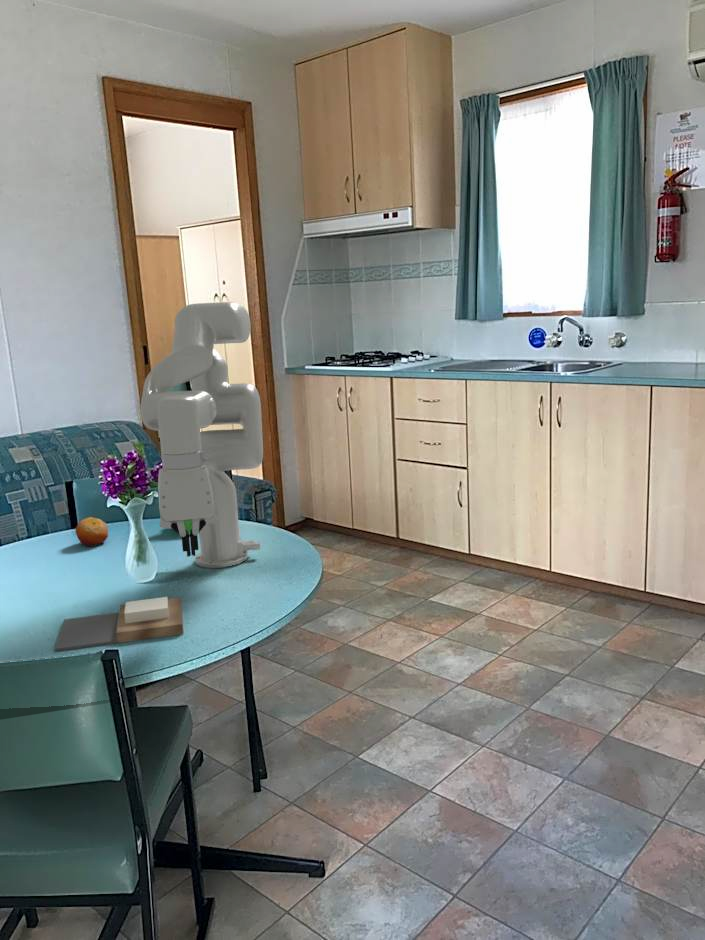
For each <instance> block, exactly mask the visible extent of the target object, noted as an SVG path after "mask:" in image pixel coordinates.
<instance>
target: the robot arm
mask: <svg viewBox="0 0 705 940" xmlns="http://www.w3.org/2000/svg"><path fill="white" fill-rule="evenodd" d="M251 328H252V326H251V318H250V315H249V312H248V311H247V309H246V308H245V306H243V305H241V304H240V303H236V302H230V301H224V302H223V301H222V302H221V301H220V302H204V303H203V302H200V303H191V304H186V305H185V306H183V307H181V309H180V310H179V311H178V313H176V315H175V318H174V332H173V341H172V346H171V347H172V348H171V352H170V353H169V354H168V355H166V357H164V358H163V359H161V361H159V362H158V363H157V364H156V365H155V366H154V367H153V368H152V369H151V370H150V371H149V373H148V374H147V376H146V378H145V380H144V383H143V388H142V395H141V400H140V401H141V402H140V417H141V420H142V423H143V424H144V426H145V427H146V428H147V429H149V430H152V431H157V432H158V433H159V441H160V452H161V454H160V455H161V464H162V468H159V470H158V479H157V481H158V482H157V485H158V486H157V487H158V488H157V489H158V493H157V494H158V509H159V514H160V515H159V516H160V519H159V527H160V528H163V529H171V530H173V531H174V532H176V534H177V533H178V534H180V535H179V536H180V537H181V545H182V546H181V547H182V552H183V553H184V552H186V556H187V558H188V557H190V556H192V557H194V563H195V565H197V566H199V567H202V568H209V569H217V568H218V569H219V568H228V566H229V567H233V566H236V564H237V565H239V564H242V563H243V561H244V562H245V561H247V559H248V558H249V554H248V553H249V552H248V551H258V550H261V545H260V541H254V539H253V540H248V541H244V540H242V537H241V535H240V523H239V512H238V501H237V500H238V499H237V489H236V487H235V483H234V482H233V480H232V478H230V477H229V476H228V475H227V474H226V471H227V472H228V471H236V470H237V471H238V470H239V471H240V470H253V469H257V468H259V467H261V465H262V463H263V459H264V443H263V442H264V441H263V439H264V438H263V436H264V435H263V421H262V419H263V417H262V405H261V397H260V394H259V391H258V389H257V387H256V386H255V385H254V384H250V383H229V376H228V369H229V368H228V364H227V361H226V360H225V359H224V357H222V355H221V354H220V353H219V352H218V351H217V350H216V349H215V348H214V347H215V346H214V345H223V344H241V343H246V342H247V340H248V339H249V337H250V335H251ZM190 381H191V390H173V391H169V390H171V389H173V388H175V387H177V386H180V385H182V384H184V383H187V382H190ZM225 425H240V426H241V427H242V428H235V429H212V430H211V429H210V430H209V429H208V430H202V431H201V429H205V428H208V427H209V426H225ZM188 520H192V529H191V530H190V531H191V533H190V534H189V533H188V531H187V530H186V529H185V525H184V521H188ZM178 534H177V535H178ZM198 535H199V536H198ZM198 537H199V538H198ZM199 546H200V552H199V553H198V554H196V551H199ZM247 557H248V558H247ZM241 562H242V563H241ZM232 565H233V566H232Z"/></svg>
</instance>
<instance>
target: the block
mask: <svg viewBox="0 0 705 940" xmlns="http://www.w3.org/2000/svg"><path fill="white" fill-rule="evenodd" d="M168 599H169V598H168V596H163V597H155V598H147V599H140V600H131V601H125V604H126V606H125V613H124V614H125V622H126V623H132V622H139V621H147V620H154V619H162V618H169V606H168Z"/></svg>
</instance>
